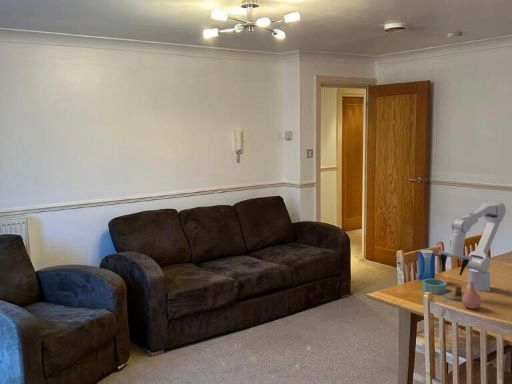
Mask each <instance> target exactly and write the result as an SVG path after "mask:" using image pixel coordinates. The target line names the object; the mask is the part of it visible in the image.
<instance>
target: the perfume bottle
mask: <svg viewBox="0 0 512 384" xmlns="http://www.w3.org/2000/svg"><path fill="white" fill-rule="evenodd" d="M461 303H462V304H463V306H464V308H465V307H466V308H468V309H479V308H480V306H481V304H482V299H481V296H480V294H478V292H477V291H475V289H474V282H470V288H469V289H468V288H467V291H466V293H465V294H464V295H463V298H462V302H461Z"/></svg>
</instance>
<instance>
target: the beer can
mask: <svg viewBox="0 0 512 384" xmlns="http://www.w3.org/2000/svg"><path fill="white" fill-rule="evenodd" d="M425 279H436V255H435V253H434V251H433V250H431V249H421V250H419V252H418V254H417V280H418V281H419V282H421V283H422V281H423V280H425Z"/></svg>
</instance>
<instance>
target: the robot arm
mask: <svg viewBox="0 0 512 384" xmlns="http://www.w3.org/2000/svg"><path fill="white" fill-rule="evenodd" d="M506 213H507V211H506V205H505V203H502V202H500V203H499V202H493V201H488V200H486V201H485V200H484V201H483V202H482V203H481V204H480V207H478V209H476V210H475V211H473V212H472V211H468V212H467V213H466V214H465V215H463V216H461V218H456V219H454V220H453V221H452V223H451V224H450V225H451V226H450V227H451V234H452V236H451V240H450V246H449V250H448V251H445V250H444V251H443V250H438V255H440V261H441V266H442V270H441V271H442V272H445V271H446V264H447V259H448V257H449V258H453V259H457V260H461V265H460V267H461V268H460V272H459V276H462V275H463V272H464V270H465V269H467V270H468V284H466V287H467V290H468V289H469V288H470V282H474V289H475V291H476V292H477V291H478V292H490V291H491V290H490V289H491V288H490V287H491V274H490V271H488V270H489V268H490V265H491V264H490V263H491V258H490V255H488V253H489V251H490V249H491V246H492V244H493V241H494V239H495V236H496V234H497V232H498V229H499V226H500V225H501V222H503V219H504V217H505V215H506ZM482 217H483V218H484V219H485V220H486V221H487V223H486V226H485V228H484V230H483V233H482V235H481V238H480V240H479V242H478V245H477V246H476V248H475V250H473V251H471V252H470V253H469V255H468V256H467V255H463V253H464V247H465V241H466V236H467V233H469V232H470V230H471V228H472V226H474V225H475V224H477V223H478V222H479V219H481V218H482Z"/></svg>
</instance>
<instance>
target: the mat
mask: <svg viewBox="0 0 512 384" xmlns="http://www.w3.org/2000/svg"><path fill="white" fill-rule="evenodd" d="M445 293H446V292H445ZM445 293H443V294H441V297H442V300H443V302H449V303H463V302H462V301H453V300H449V299H447V298H446V297H445Z"/></svg>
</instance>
